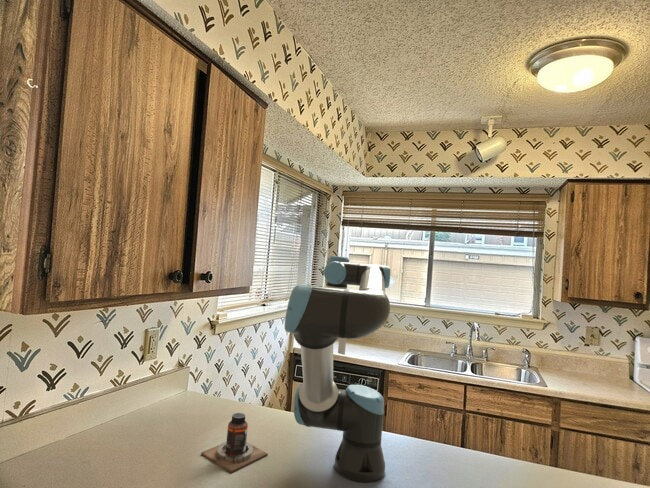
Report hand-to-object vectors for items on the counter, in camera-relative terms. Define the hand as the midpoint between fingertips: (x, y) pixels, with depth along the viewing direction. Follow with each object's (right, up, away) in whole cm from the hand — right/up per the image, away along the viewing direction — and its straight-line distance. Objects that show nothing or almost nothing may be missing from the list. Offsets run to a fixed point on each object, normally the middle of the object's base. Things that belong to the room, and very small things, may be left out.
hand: (330, 356), depth 138 cm
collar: (-30, -23, -23) cm, 44 cm away
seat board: (-30, -23, -23) cm, 44 cm away
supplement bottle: (-30, -23, -23) cm, 44 cm away
